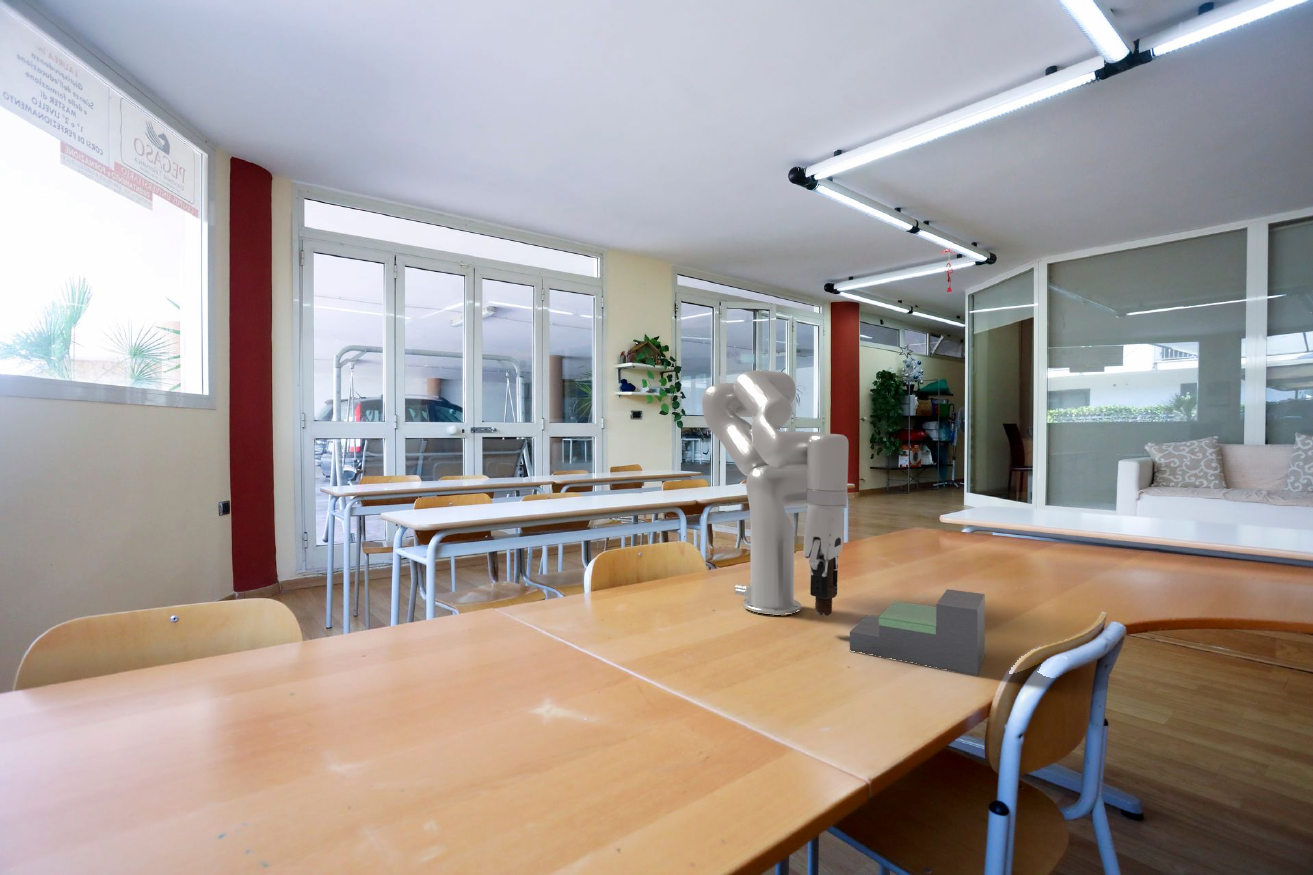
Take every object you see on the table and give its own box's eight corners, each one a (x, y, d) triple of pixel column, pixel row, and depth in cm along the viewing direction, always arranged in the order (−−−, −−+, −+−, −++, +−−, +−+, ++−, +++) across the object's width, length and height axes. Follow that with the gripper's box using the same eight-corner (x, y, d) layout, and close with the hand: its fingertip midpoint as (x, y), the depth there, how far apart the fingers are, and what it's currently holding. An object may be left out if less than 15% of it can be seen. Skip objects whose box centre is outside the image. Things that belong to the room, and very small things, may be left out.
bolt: (836, 610, 119) (838, 534, 118) (841, 618, 114) (843, 539, 113) (805, 608, 119) (807, 533, 119) (809, 617, 114) (811, 538, 114)
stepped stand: (849, 651, 107) (849, 592, 107) (867, 633, 117) (867, 578, 117) (977, 676, 96) (977, 610, 96) (984, 653, 106) (984, 593, 106)
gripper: (821, 492, 125) (819, 580, 125) (791, 501, 111) (788, 600, 111) (858, 495, 121) (855, 586, 121) (832, 505, 106) (829, 607, 107)
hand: (823, 591), depth 116 cm, fingers closed on bolt, 5 cm apart
